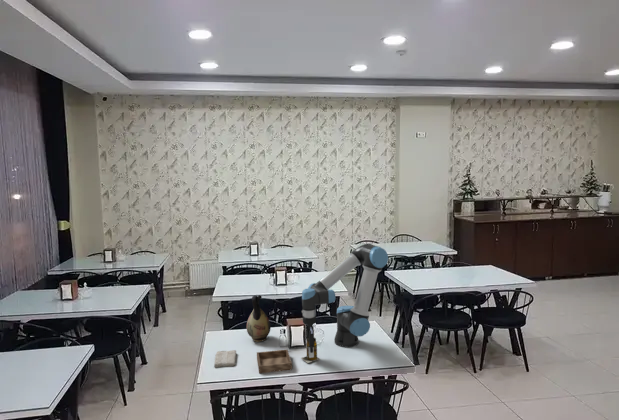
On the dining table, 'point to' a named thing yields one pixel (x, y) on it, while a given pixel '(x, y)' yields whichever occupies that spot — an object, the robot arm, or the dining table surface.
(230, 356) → the washcloth
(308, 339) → the condiment
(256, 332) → the ceramic jug
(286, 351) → the tray
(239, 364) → the dining table surface
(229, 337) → the dining table surface
